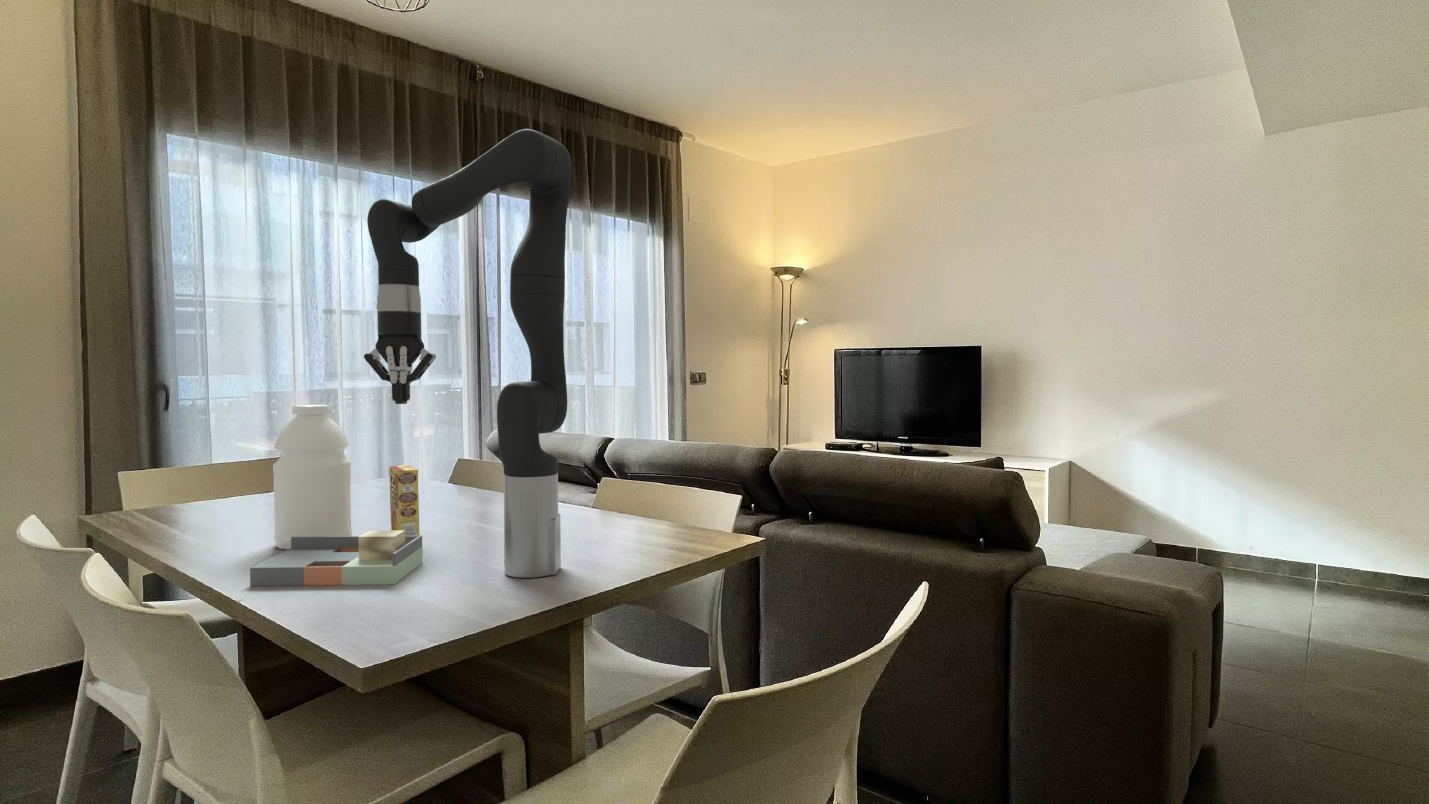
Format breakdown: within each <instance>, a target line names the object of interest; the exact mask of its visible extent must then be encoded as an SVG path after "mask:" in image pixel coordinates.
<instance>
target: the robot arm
mask: <svg viewBox="0 0 1429 804" xmlns="http://www.w3.org/2000/svg"><path fill="white" fill-rule="evenodd" d="M572 171H573V170H572V159H571V155H570V152H569V151H568V149H567V147H566V146H565V145H564V144H562V143H561V142H560V141H558V140H557V139H555V138H553V137H551V136H548V135H547V134H545V133H542V132H540V131H538V130H534V129H531V128H523V129H520V130H517V131H515V132H513V133H512V134H510V135H508V136H507V137H505V138H504V139H502V140H501V141H499V142H498V143H496V145H493V147H492V148H490V149H489V150H488V151H486V152H485V153H483V154H481V155H480V156H478V157H477V158H476V159H475V160H473V161H471V162H470V163H469V164H467V165H466V166H464V167H462V168H461V169H459V170H457V171H456V172H454V173H452V174H450V175H447V176H446V177H444V178H441V179H438V180H437V181H435V182H432V183H430V184H428V185H426V186H424V187H422V188H419V189H418V190H417V191H415V193H414V194H413V196H412V198H411V204H407V203H404V202H400V201H396V200H393V199H388V198H380V199H378V200H376V201H374V202H373V203H372V205H371V206H370V208H369V210H368V214H367V221H366V222H367V230H368V235H369V237H370V240H371V244H372V248H373V251H374V254H375V258H376V261H377V271H378V272H377V275H378V279H377V281H378V282H377V283H378V286H377V287H378V290H377V297H376V298H377V299H376V311H377V313H376V314H377V337H378V338H377V341H376V343H375V347H374V349H373V350H371V351H370V352H369V353H367V352H366V353H365V354H364V355H363V358H364V360H365V361H366V362H367V363H368V365H369V366H370V368H372V370H373V371H374V372H375V373H376V375H377V376H378V377H379V378H380V379H381V380H382V381H386V382H389V383H390V384H391V399H392V401H393V402H395V404H396V405H406V404H408V401H410V399H411V383H413V382H415V381H419V380H420V379H421V378H422V376H423V375H424V374H425V373H426V372H427V370H428V369H429V367H431V365H432V364H433V362H434V361H435V360H436V359H437V358H436V357H437V356H436V354H435V353H432V352H430V351H428V350H427V349H426V348H425V344H424V342H423V340H422V305H421V304H422V301H421V300H422V299H421V292H420V266H419V261H418V259H417V257H416V256H414V255H412V254H411V253H409V252H407V251H406V249H405V246H404V244H403V243H409V244H411V243H412V244H413V243H416V242H420V241H422V240H424V239H426V238H427V237H428V236H430V235H431V234H432V233H433V232H434V231H436V230H437V229H438V228H439V227H440V226H442V225H444V224H447V223H448V222H451V221H453V220H456V219H459V218H460V217H462V216H465V215H466V214H468V213H470V212H471V211H472V210H474V209H475V208H476V207H477V206H478V204H479V203H480V202H481V200H482V199H483V198H485V196H486V195H488V194H489V193H491V192H493V191H495V190H498V189H501V188H505V187H507V186H513V185H521V186H522V187H525V188H529V216H528V224H527V227H526V229H525V232H524V235H522V236H523V237H522V238H521V240H520V242H519V243H518V246H517V249H516V251H515V252H514V255H513V258H512V261H511V265H510V276H509V279H510V280H509V281H510V282H509V285H510V286H509V303H510V307H511V310H512V314H513V317H514V319H515V321H516V323H517V326H518V327H519V330H520V332H521V334H522V336H523V338H524V341H525V342H526V345H527V348H528V351H529V352H528V353H529V357H530V381H514V382H513V381H512V382H510V383H508V384H506V385H505V386H503V388H502V390H501V391H500V393H499V395H498V399H497V404H496V405H497V406H496V425H497V427H496V428H497V438H498V439H497V440H498V441H497V442H498V453H499V459H500V460H501V463H502V466H503V526H504V527H503V528H504V529H503V536H504V537H503V539H504V540H503V547H504V548H503V549H504V552H503V553H504V558H503V559H504V560H503V565H504V574H505V575H507V576H508V577H509V576H510V577H512V578H522V579H523V578H524V579H527V578H539V577H540V578H541V577H547V576H556V575H557V574H558V571H559V570H560V569H561V563H562V560H561V551H562V550H561V549H562V547H561V546H562V545H561V530H562V529H561V528H562V527H561V513H559V460H558V458H557V456H555V455H553V454H552V453H548V452H546V451H545V450H544V449H543V448H542V447H541V444H540V435H541V434H550V433H554V432H556V431H558V430H559V429H560V428H561V427H562V426H563V424H564V422H565V420H566V417H567V415H568V414H567V412H568V387H567V376H566V364H565V350H564V349H565V343H564V341H565V335H564V334H565V333H564V332H565V331H564V330H565V329H564V328H565V326H564V325H565V324H564V323H565V321H564V319H565V317H564V316H565V315H564V314H565V295H566V294H565V293H566V292H565V291H566V290H565V288H566V287H565V286H566V283H565V282H566V280H565V279H566V269H565V267H566V266H565V264H566V263H565V262H566V241H567V239H566V238H567V235H566V233H567V232H566V231H567V215H568V209H569V208H568V207H569V199H570V191H571V183H572ZM381 357H382V358H381ZM418 358H419V360H420V361H419V363H418V364H417V366H416V367H415V368H414V369H413V364H414V363H415V362H416V361H417V359H418ZM381 359H383V360H384V361H385V363H386V364H387V368H386V367H385V365H384V364H383V363H382V362H381Z"/></svg>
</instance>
